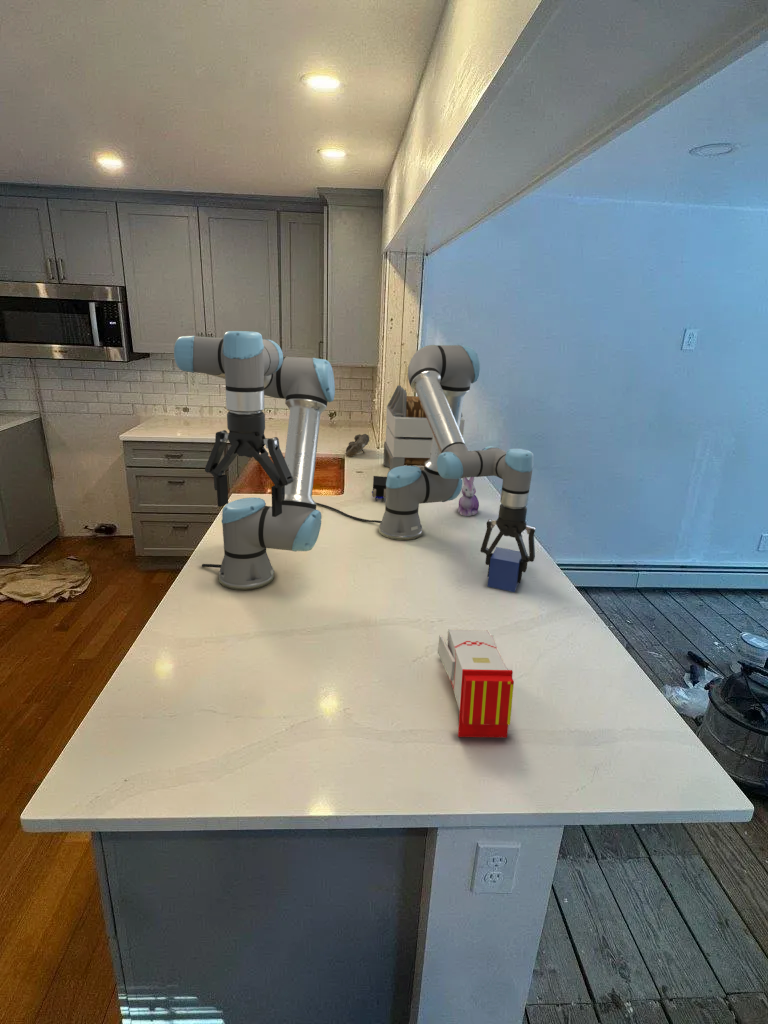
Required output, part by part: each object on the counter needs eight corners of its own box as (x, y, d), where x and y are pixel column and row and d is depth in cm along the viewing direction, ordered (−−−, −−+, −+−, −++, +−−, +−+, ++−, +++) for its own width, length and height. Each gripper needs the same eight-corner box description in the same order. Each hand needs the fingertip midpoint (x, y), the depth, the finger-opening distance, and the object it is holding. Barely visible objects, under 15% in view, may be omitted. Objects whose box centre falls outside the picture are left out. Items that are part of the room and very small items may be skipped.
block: (514, 592, 162) (518, 563, 159) (487, 586, 164) (490, 557, 161) (519, 580, 169) (523, 551, 166) (493, 574, 172) (496, 546, 169)
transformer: (382, 463, 289) (386, 382, 275) (445, 464, 293) (451, 384, 279) (390, 482, 257) (394, 392, 243) (460, 483, 261) (468, 394, 247)
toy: (488, 613, 130) (523, 677, 101) (484, 667, 133) (517, 744, 104) (435, 612, 130) (455, 676, 101) (432, 666, 133) (451, 743, 103)
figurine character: (387, 506, 231) (387, 491, 244) (388, 489, 228) (388, 474, 241) (371, 505, 231) (371, 490, 244) (372, 488, 227) (372, 474, 241)
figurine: (465, 518, 217) (469, 480, 212) (450, 509, 226) (454, 473, 221) (485, 515, 222) (489, 478, 217) (470, 507, 230) (473, 471, 225)
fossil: (345, 440, 316) (366, 424, 311) (356, 453, 319) (377, 438, 314) (339, 453, 297) (361, 437, 292) (350, 467, 300) (373, 452, 295)
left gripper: (309, 414, 114) (309, 513, 121) (206, 402, 122) (212, 496, 129) (290, 420, 107) (291, 525, 115) (183, 407, 116) (190, 505, 123)
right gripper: (553, 506, 158) (542, 580, 166) (479, 495, 165) (472, 566, 173) (550, 515, 152) (538, 590, 160) (474, 502, 159) (466, 576, 167)
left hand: (249, 509), depth 122 cm, fingers open, 13 cm apart
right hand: (504, 577), depth 166 cm, fingers closed on block, 8 cm apart
